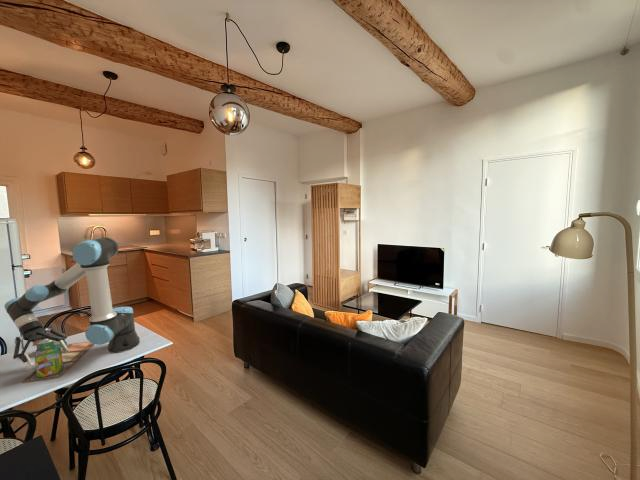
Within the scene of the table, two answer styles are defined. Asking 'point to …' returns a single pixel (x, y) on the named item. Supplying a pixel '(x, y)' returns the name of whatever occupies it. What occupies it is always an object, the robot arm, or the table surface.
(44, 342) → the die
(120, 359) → the table surface
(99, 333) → the robot arm
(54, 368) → the chalk box
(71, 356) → the board
